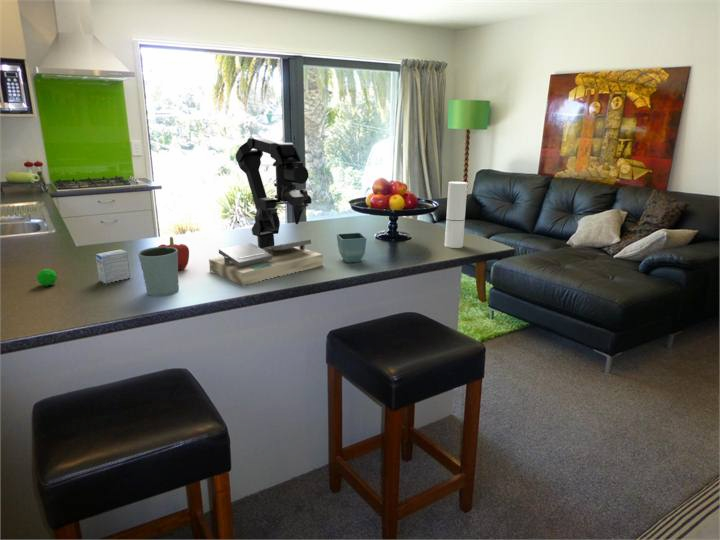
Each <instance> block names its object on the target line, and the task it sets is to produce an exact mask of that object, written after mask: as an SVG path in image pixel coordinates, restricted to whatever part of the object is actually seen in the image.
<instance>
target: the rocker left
mask: <svg viewBox="0 0 720 540" xmlns="http://www.w3.org/2000/svg"><path fill="white" fill-rule="evenodd" d="M218 253H219V255H221V257H223V256H224V257H226V256H227V257H229V260H230V261H231V262H233V263H234V264H236V265H237V266H239V267H240V266H245V265H249V264H254V263H259V262H263V261H268V260H272V255H271V254H269V253H267V252H266V251H264V250H262V249H261V248H259V247H258V245H256V244H254V243H252V242H249V243H244V244H237V245H233V246H228V247H221V248H219V249H218Z"/></svg>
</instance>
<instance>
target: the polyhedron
mask: <svg viewBox="0 0 720 540" xmlns="http://www.w3.org/2000/svg"><path fill="white" fill-rule="evenodd" d="M36 280H37V281H38V284H40V285H42V286H44V287H50V286H49V285H51V286H52V285H54V284H55V283H56V282H57V281H58V275H57V273H56V272H55V271H54V270H52V269H49V268H45V269H42V270H41V271H39V272H38V273H37V275H36Z"/></svg>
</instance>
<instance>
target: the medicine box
mask: <svg viewBox="0 0 720 540" xmlns="http://www.w3.org/2000/svg"><path fill="white" fill-rule="evenodd" d="M94 255H95V256H94V257H95V261H96V267H97V269H96V270H97V276H98V281H99V280H100V281H102V282H104V283H109V284H111V283H110V282H113V283H116V282H115V281H117V282H120V281H119V280H121V281H124V279H125V280H129V279H131V278H132V273H131V267H130V259H129V252H128V251H126V250H124V249H117V250H110V251H106V252H105V251H104V252H100V253H96V254H94ZM128 278H129V279H128ZM100 281H99V282H100ZM102 282H101V283H102ZM104 283H103V284H104Z"/></svg>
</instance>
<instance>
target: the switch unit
mask: <svg viewBox="0 0 720 540" xmlns="http://www.w3.org/2000/svg"><path fill="white" fill-rule="evenodd" d="M305 247H306V245H302V246H297V247H293V248H288V249H283V250H276V251H273V250H272V248H268V252H267V253H269V254H271V255H272V260H268V261H263V262H259V263H254V264H249V265H245V266H240V267H239V266H237V265H236V264H234V263H233V262H231V261H230V260H229V257H227V256H226V257H224V256H218V257H213V258H209V259H208V262H209V271H210V272H211V271H212V272H211V273H213V272H215V273H214V274H216V273H217V274H216V275H218V274H219V275H218V276H220V275H221V276H220V277H222V276H223V277H222V278H224V279H227V278H228V279H227V280H229V279H230V280H229V281H231V280H232V282H234V281H235V282H234V283H236V282H237V283H236V284H238V283H239V285H240V284H241V285H240V286H243V285H244V286H247V284H248V285H251V283H252V284H255V282H256V283H259V282H258V281H260V282H263V281H262V280H264V281H266V280H265V279H268V280H271V279H270V278H272V279H274V277H276V278H278V277H277V276H280V277H282V276H283V275H284V276H287V274H288V275H291V273H292V274H295V272H296V273H299V271H300V272H302V271H306V270H307V271H308V270H311V269H315V268H320V267H322V266H323V265H324V262H323V260H324V259H323V254H322V253H320V252H316V251H312V250H311V249H310V250H309V249H306V248H305ZM262 250H264V249H262ZM264 251H266V250H264Z"/></svg>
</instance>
